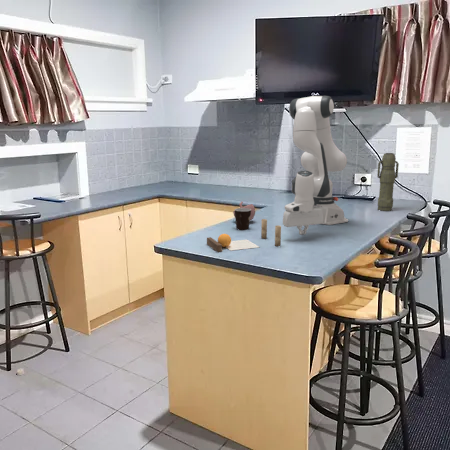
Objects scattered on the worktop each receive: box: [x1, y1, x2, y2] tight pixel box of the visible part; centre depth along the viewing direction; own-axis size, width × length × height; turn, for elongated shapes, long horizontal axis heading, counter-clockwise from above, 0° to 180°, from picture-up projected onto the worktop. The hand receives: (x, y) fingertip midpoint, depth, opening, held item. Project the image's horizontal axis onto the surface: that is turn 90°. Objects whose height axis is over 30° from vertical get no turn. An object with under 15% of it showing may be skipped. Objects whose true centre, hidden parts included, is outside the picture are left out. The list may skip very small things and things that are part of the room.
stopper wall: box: [206, 236, 223, 253], centre depth 207 cm, size 2×14×3 cm, turn 21°
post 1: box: [260, 218, 268, 240], centre depth 223 cm, size 3×3×9 cm
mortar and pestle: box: [232, 201, 256, 222], centre depth 256 cm, size 12×12×11 cm
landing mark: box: [225, 239, 260, 252], centre depth 212 cm, size 14×14×1 cm
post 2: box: [274, 225, 282, 247], centre depth 210 cm, size 3×3×9 cm
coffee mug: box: [234, 207, 251, 231], centre depth 240 cm, size 12×9×10 cm
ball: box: [217, 233, 232, 248], centre depth 208 cm, size 6×6×6 cm
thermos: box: [376, 152, 400, 212], centre depth 286 cm, size 9×12×35 cm
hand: (302, 234), depth 223 cm, fingers closed
